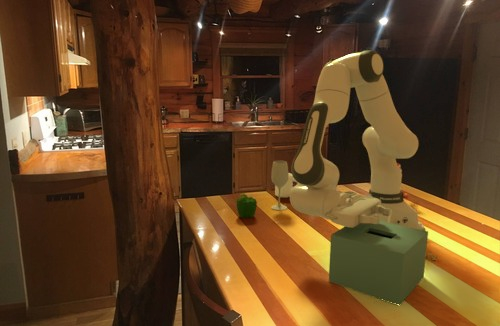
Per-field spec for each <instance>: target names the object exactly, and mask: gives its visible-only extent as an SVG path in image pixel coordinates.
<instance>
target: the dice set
mask: <svg viewBox="0 0 500 326" xmlns="http://www.w3.org/2000/svg"><path fill="white" fill-rule="evenodd" d="M426 255H427V256H426V257H427V258H428V259H430V260H431V261H432V260H436V261H437V255H435V254H434V253H431V252H429V253H426Z"/></svg>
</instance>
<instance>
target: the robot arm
mask: <svg viewBox="0 0 500 326" xmlns="http://www.w3.org/2000/svg"><path fill="white" fill-rule="evenodd" d="M384 70H385V65H384V60H383V57H382V56H381V54H380V53H378V52H377V51H376V50H374V49H371V50H370V49H369V50H368V49H367V50H362V51H359V52H353V53H350V54H347V55H345V56H342V57H339V58H337V59H332V60H329V62H327V63H326V64H324V66H323V67H322V69H321V71H320V74H319V77H318V81H317V84H316V88H315V94H314V95H315V96H314V100H313V104H312V106H311V107H310V109H309V111H308V113H307V115H306V116H307V117H306V121H305V124H304V128H303V132H302V136H301V140H300V144H299V146H298V147H299V148H298V149H297V152H296V154H295V156H294V157H293V160H292V162H291V167H290V169H291V170H290V171H291V174H292V175H293V178H294V179H295V180H296V181H297V182H298V183H297V182H296V185H294V186H293V188H292V189H291V192H290V197H289V203H290V204H291V207H292V208H293V209H294V210H295V211H297V212H298V213H299V212H300V213H302V214H305V215H308V216H312V217H321V218H323V219H325V220H328V221H330V222H332V223H334V224H335V225H338V226H341V227H350V228H353V227H355V226H357V225H358V224H360V223H372V224H378V223H379V221H383V222H388V223H392V224H397V225H401V226H406V227H410V228H414V229H419V230H423V231H425V230H424V229H425V226H424V224H423V223H422V222H421V221H419V215H418V212H417V211H416V209H414V207H412V206H411V205H410V204H408V203H407V202H406V201H405V200H409V199H410V196H411V195H410V194H408V193H406V192H405V193H404V192H402V191H401V189H402V188H401V186H402V179H401V176H402V177H403V173H402V172H401V170H402V169H401V170H400V168H401V167H400V168H399V167H398V165H397V163H398V162H397V159H398V160H399V159H411V158H412V157H413V156H414V155H415V154H416V152H417V151H418V148H419V139H418V137H417V135H416V134H415V133H413V132H412V131H411V130H410V128H409V127H407V125H406V124H405V122H404V121H403V120H402V118H401V116H400V115H399V113H398V112H397V110H396V107H395V105H394V102H393V99H392V95H391V93H390V89H389V87H388V84H387V81H386V79H385V76H384V75H383V73H384ZM351 88H355V92H356V96H357V99H358V102H359V105H360V108H361V111H362V114H363V116H364V117H363V118H364V119H365V121H366V122H367V123H368V124H370V126H369V127H367V128H366V129H365V130H364V132H363V133H362V136H361V139H362V141H361V142H362V144H363V146H364V147H365V148H366V151H367V153H368V159H369V164H370V171H371V172H370V173H371V175H370V188H369V190H368V195H366V194H359V193H358V194H357V191H353V190H351V191H339V192H337V191H335V189H336V188H338V187H337V186H338V183H339V182H340V177H341V173H340V169H339V167H338V166H337V165H336V164H334V163H333V162H332V161H330V160H328V159H326V158H325V157H324V156H323V155H322V150H321V149H322V145H323V141H324V136H325V133H326V128H327V127H328V125H329V124H335V123H338V122H340V121H341V120H344V118H346V117H345V116H346V115H347V112H348V110H349V105H350V98H351V96H350V95H351ZM400 188H401V189H400Z"/></svg>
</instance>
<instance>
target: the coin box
mask: <svg viewBox="0 0 500 326" xmlns="http://www.w3.org/2000/svg"><path fill="white" fill-rule="evenodd" d="M428 238H429V231H427V230H419V229H414V228H410V227H406V226H401V225H397V224H392V223H388V222H383V221H379V223H378V224H372V223H360V224H358V225H357V226H355V227H353V228H350V227H345V226H342V228H340V229H338V230H336V231H334V232H333V233H332V234H331V235H330V245H329V246H330V249H329V265H328V266H329V270H328V271H329V272H328V282H330V283H333V284H335V285H338V286H341V287H344V288H347V289H349V290H352V291H355V292H358V293H360V294H361V293H362V294H364V295H366V294H367V296H369V295H370V297H372V296H374V297H373V298H375V297H376V298H375V299H378V298H379V299H378V300H381V299H383V300H382V301H384V300H385V301H384V302H387V301H389V302H392V303H396V304H399V305H400V304H401V303H402V302H403V303H404V302H405V300H406V299H407V298H408V297H409V296H410V294H411V293H412V292H413V291H414V289H415V288H416V287H417V286H418V285H419V284H420V282H422V280H423V279H424V277H425V267H426V259H427V258H426V257H427V256H426V254H427V246H428ZM422 278H423V279H422ZM421 279H422V280H421ZM417 284H418V285H417ZM416 285H417V286H416ZM412 290H413V291H412ZM411 291H412V292H411ZM407 296H408V297H407ZM406 297H407V298H406ZM405 298H406V299H405ZM404 299H405V300H404ZM389 302H388V303H389ZM392 303H391V304H392ZM403 303H402V304H403ZM402 304H401V305H402ZM401 305H400V306H401Z"/></svg>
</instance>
